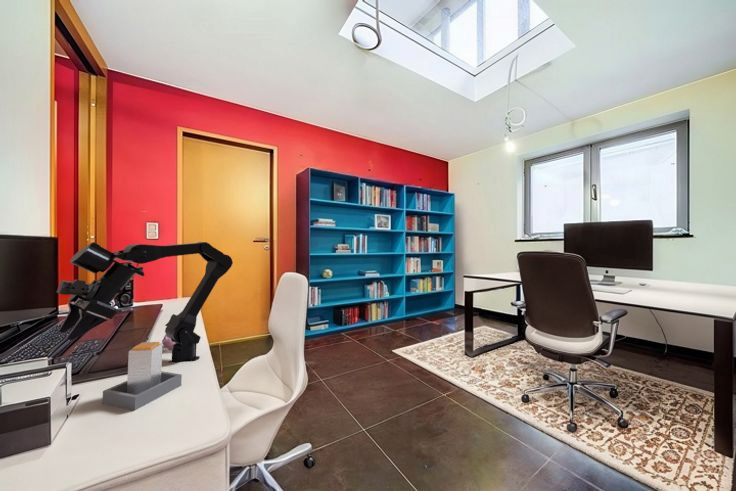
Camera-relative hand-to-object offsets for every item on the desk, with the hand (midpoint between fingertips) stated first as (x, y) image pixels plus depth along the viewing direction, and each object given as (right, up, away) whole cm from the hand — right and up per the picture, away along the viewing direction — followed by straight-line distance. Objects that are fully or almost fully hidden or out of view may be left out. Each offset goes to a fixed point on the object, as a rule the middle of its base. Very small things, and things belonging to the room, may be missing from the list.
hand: (64, 335), depth 69 cm
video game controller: (+3, -16, +34) cm, 38 cm away
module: (+20, -15, +1) cm, 25 cm away
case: (+20, -16, +1) cm, 26 cm away
